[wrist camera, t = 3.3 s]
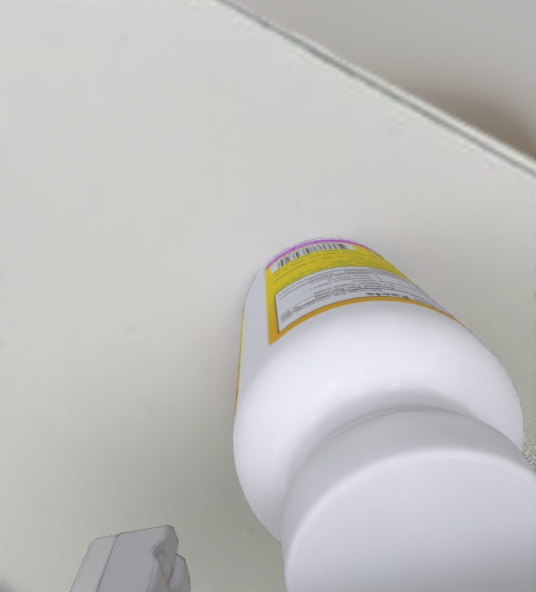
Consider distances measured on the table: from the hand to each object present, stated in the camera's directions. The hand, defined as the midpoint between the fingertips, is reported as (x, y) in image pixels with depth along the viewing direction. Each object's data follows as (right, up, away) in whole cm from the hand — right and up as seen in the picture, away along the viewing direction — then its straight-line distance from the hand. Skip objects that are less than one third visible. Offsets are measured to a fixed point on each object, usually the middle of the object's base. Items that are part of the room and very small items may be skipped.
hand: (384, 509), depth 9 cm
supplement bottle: (0, +3, +11) cm, 11 cm away
